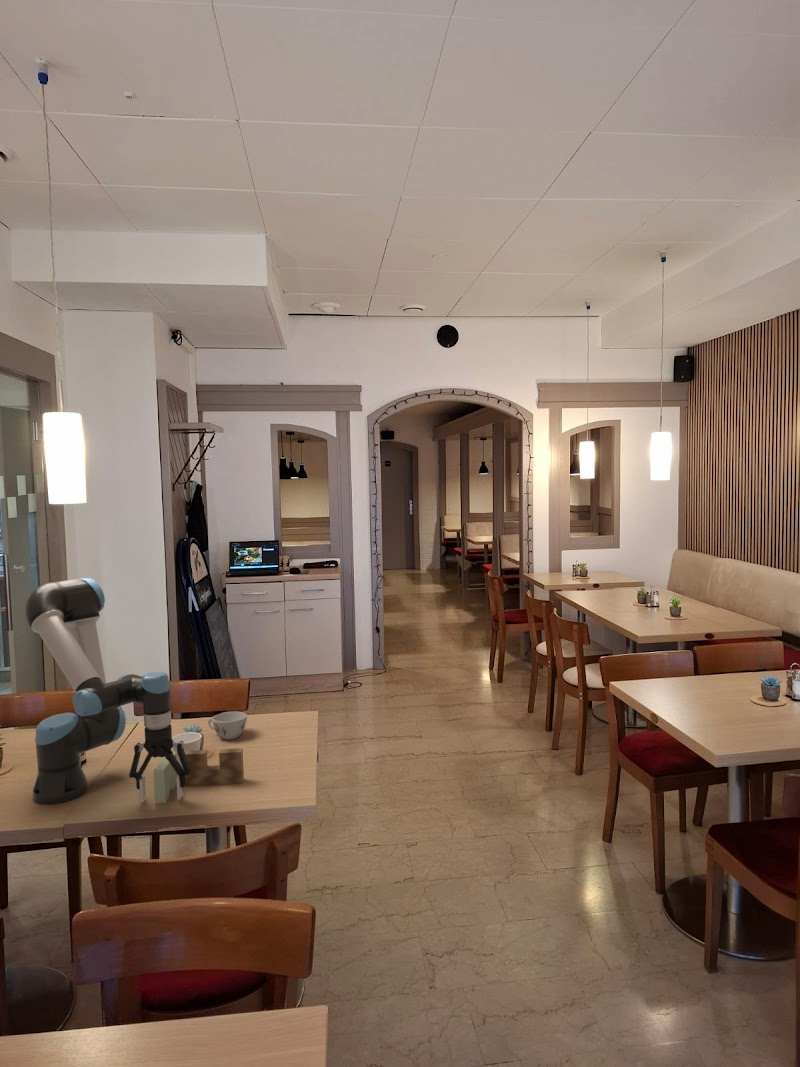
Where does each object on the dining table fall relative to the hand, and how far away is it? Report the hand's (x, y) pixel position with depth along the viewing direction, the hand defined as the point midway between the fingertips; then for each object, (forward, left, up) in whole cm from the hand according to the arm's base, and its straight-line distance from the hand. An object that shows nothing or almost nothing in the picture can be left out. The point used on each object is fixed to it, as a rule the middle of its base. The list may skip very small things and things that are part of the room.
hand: (161, 798), depth 210 cm
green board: (0, +6, -1) cm, 6 cm away
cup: (+2, +22, -1) cm, 22 cm away
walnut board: (+13, +12, -1) cm, 17 cm away
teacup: (+10, +51, -1) cm, 52 cm away
